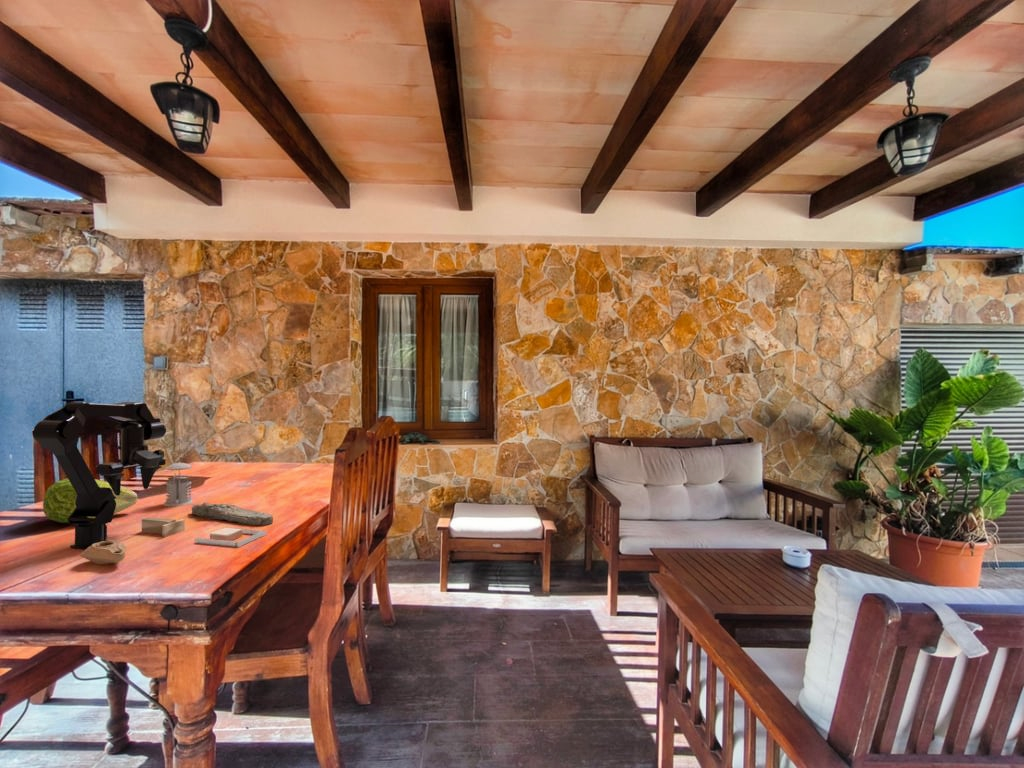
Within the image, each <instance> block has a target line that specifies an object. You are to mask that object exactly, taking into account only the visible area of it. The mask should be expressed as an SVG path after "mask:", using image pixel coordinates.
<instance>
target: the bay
mask: <svg viewBox="0 0 1024 768" xmlns="http://www.w3.org/2000/svg"><path fill="white" fill-rule="evenodd" d="M224 528H231V526H230V527H229V526H228V527H227V526H225V527H224ZM234 528H235V529H242V535H243V534H245V535H250V536H248V537H245V538H243V539H241V540H238V541H236V540H232V541H226V540H215V539H210V538H204V537H203V538H202V537H196V538H194V543H195V544H201V545H213V546H222V547H232V548H240V547H242V546H244V545H246V544H249V543H251V542H253V541H255V540H258V539H260V538H262V537H264V536H267V530H265V529H264V530H263V529H251V528H249V529H248V528H239V527H234Z"/></svg>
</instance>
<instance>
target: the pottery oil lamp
mask: <svg viewBox="0 0 1024 768" xmlns="http://www.w3.org/2000/svg"><path fill="white" fill-rule="evenodd" d="M107 540H108V541H102V542H99V543H94V544H92V545H91V546H89V547H88V548H87V549H84V550H83V551H82V552H81V554H80V556H81V558H83V559H85V560H87V561H90V562H93V564H95V565H102V566H104V565H103V564H105V565H109V563H110V564H116V563H119V562H122V561H123V560H124V558H125V556H126V551H127V546H126V545H125V544H124V543H122V542H119V541H118V540H113V539H107Z"/></svg>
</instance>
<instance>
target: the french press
mask: <svg viewBox="0 0 1024 768" xmlns="http://www.w3.org/2000/svg"><path fill="white" fill-rule="evenodd" d="M183 439H184V438H182V437H177V438H176V441H177V442H178V454H179V455H178V462H176V463H173V464H170V465H168V466H167V467H166V470H168V471H178V475H176V472H174V474H173V476H169V477H168V478H167V480H168V481H167V482H166V484H165V485H166V494H165V495H166V497H165V498H166V500H165V502H164V503H163V504H162V506H165V507H181V506H186V505H188V506H189V505H190V504H193V503H194V500H193V499H192V496H191V495H192V480H191V479H190V478H191V476H190V475H182V473H181V472H180V470H181V471H182V470H188V469H190V468H192V465H191V464H189V463H185V462H180V461H181V460H180V459H181V458H180V457H181V455H180V453H181V441H183Z"/></svg>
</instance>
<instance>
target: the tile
mask: <svg viewBox="0 0 1024 768" xmlns="http://www.w3.org/2000/svg"><path fill="white" fill-rule="evenodd" d="M235 528H236V527H230V528H225V527H223V528H221V529H218V530H216V531H212V532H210V533H209V539H215V540H226V541H235V540H236V539H238V538H241V537H243V534H242V529H243V528H241V529H235Z"/></svg>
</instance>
